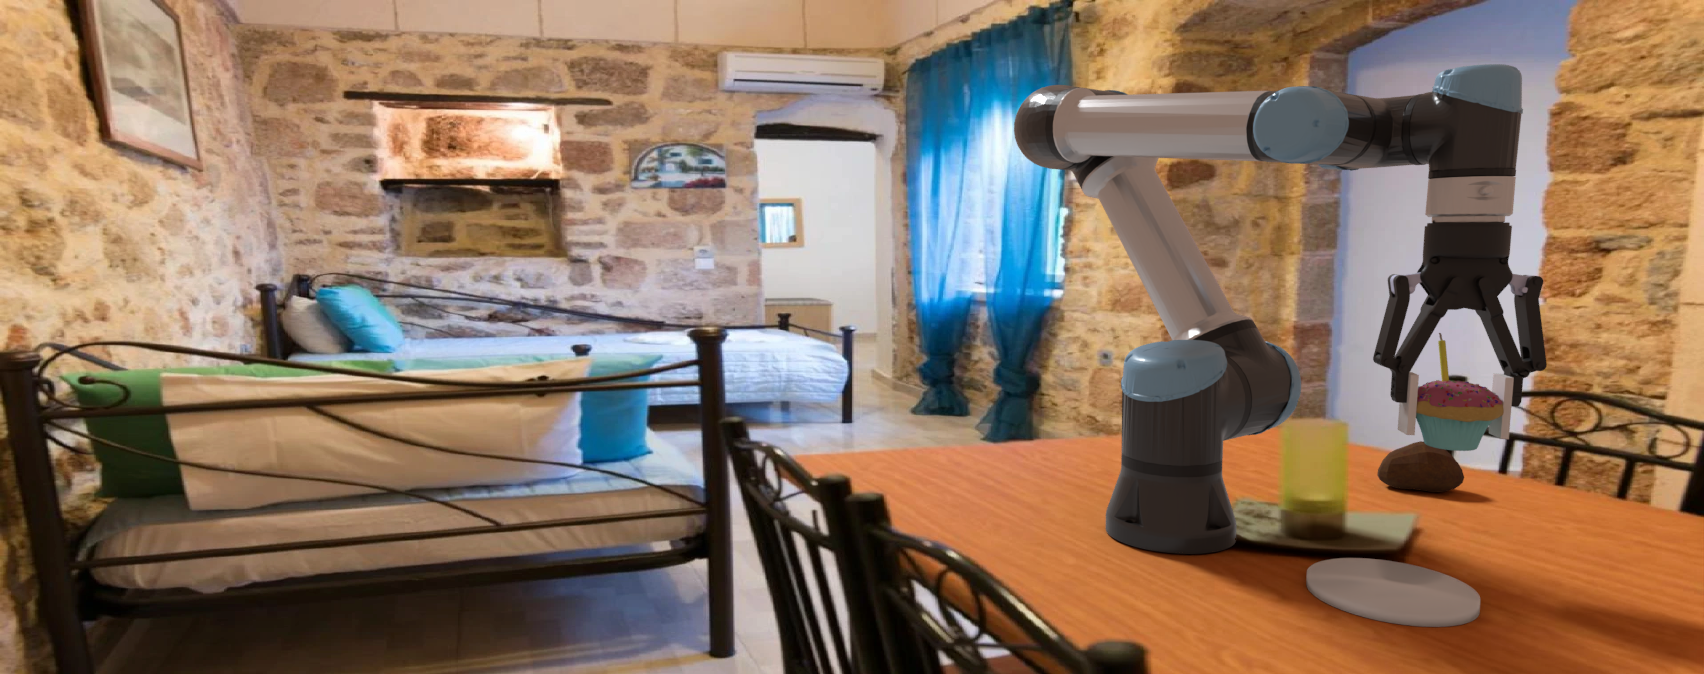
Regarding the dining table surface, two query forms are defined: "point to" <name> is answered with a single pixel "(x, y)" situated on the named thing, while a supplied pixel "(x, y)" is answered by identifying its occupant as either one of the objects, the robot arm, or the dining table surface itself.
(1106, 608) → the dining table surface
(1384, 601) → the plate
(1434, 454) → the potato
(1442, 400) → the cupcake
